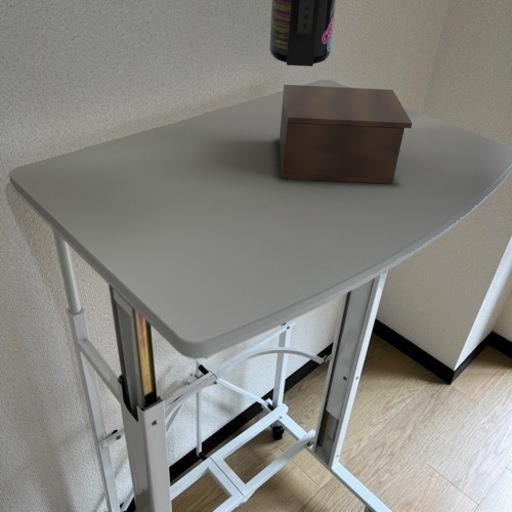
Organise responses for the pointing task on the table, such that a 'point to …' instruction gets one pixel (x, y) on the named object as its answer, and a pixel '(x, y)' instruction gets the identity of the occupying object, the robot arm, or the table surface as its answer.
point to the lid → (344, 106)
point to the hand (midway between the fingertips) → (297, 53)
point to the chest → (338, 151)
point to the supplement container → (281, 29)
